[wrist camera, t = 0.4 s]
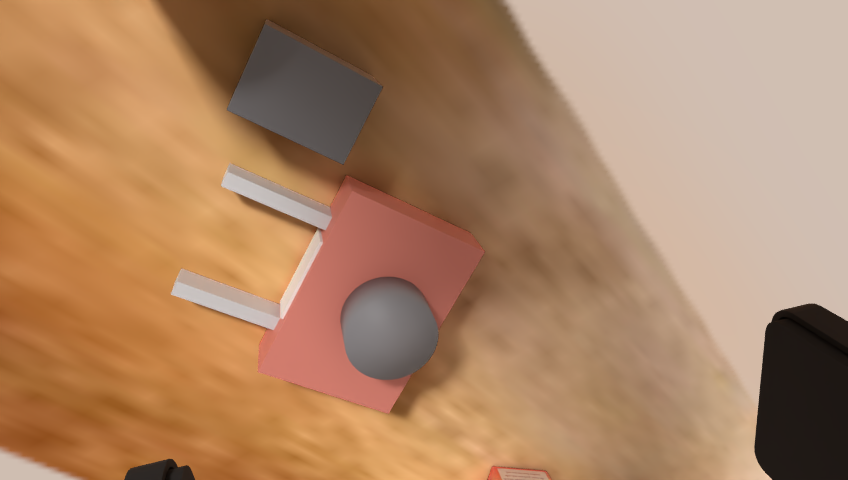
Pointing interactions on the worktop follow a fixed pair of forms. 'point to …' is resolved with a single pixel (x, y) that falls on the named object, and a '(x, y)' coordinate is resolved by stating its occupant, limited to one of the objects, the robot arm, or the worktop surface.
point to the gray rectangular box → (304, 93)
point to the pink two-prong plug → (350, 291)
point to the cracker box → (517, 474)
